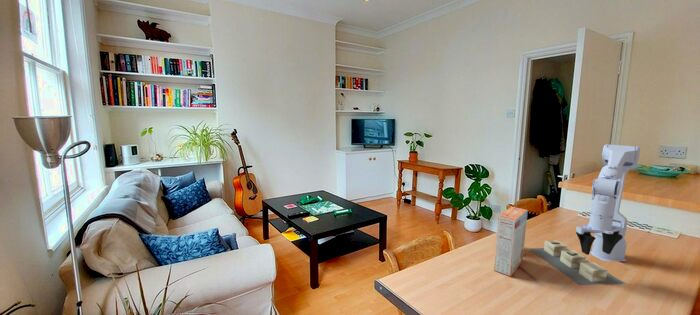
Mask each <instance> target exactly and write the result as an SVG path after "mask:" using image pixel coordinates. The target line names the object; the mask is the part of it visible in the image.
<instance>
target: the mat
mask: <svg viewBox="0 0 700 315" xmlns="http://www.w3.org/2000/svg"><path fill="white" fill-rule="evenodd" d="M528 250H529V251H530V252H532V253H534V254H535V255H536V256H538V257H539V258H541V259H542V260H543V261H545V262H547V263H548V264H549V265H550V266H552V267H553V268H555V269H556V270H558V271H560V273H562V274H563V275H564V276H566V277H568V278H569V279H571V280H572V281H573V282H574V283H576V284H577V285H579V286H585V285H586V286H591V285H592V286H593V285H595V286H596V285H620V284H625V285H626V282H625V281H623V280H621V279H619V278H617V277H615V276H614V275H612V274H611V273H609V272H607V277H606V281H598V282H591V281H590V280H588V279H587V278H585V277H584V276H582V275H581V274H579V269H580V268H570V267H569V266H567V265H566V264H564V263H563V262H561V261H560V257H561V256H552V255H551V254H549V253H548V252H546V251H544V247H540V248H539V247H538V248H537V247H536V248H534V247H531V248H528ZM566 251H571V250H570V249H568V248H567V247H566ZM587 262H590V261H589V260H587V259H585V263H587Z"/></svg>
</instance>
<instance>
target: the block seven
mask: <svg viewBox="0 0 700 315" xmlns="http://www.w3.org/2000/svg"><path fill="white" fill-rule="evenodd" d="M585 260H586V256H584V255H582V254H581V253H579V252H577V251H575V250H570V251H561V257H560V261H561V262H563V263H564V264H566V265H567V266H569V267H570V268H580V263H585Z"/></svg>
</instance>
